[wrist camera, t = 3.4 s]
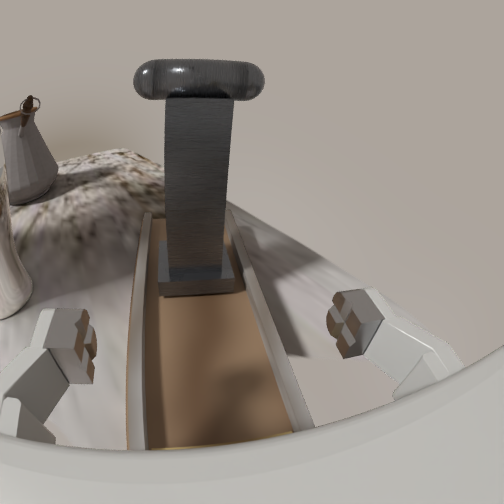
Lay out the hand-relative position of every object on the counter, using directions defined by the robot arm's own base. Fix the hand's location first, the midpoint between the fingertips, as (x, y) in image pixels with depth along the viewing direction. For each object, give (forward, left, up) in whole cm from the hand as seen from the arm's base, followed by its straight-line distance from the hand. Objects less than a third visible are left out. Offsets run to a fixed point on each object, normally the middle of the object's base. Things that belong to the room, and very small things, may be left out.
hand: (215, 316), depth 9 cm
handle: (0, +14, -7) cm, 16 cm away
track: (0, +8, -9) cm, 12 cm away
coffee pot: (-22, +30, -9) cm, 38 cm away
